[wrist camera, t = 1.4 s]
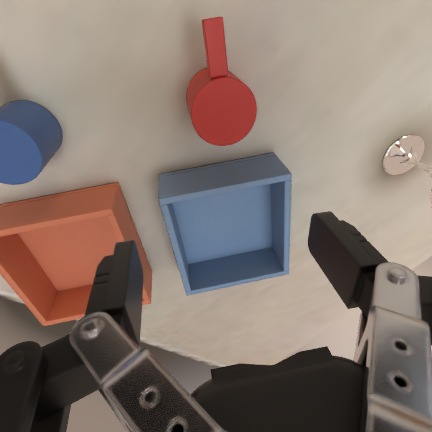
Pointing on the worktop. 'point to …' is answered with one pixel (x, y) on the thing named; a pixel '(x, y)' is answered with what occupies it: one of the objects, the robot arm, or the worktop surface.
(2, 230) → the red bin
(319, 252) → the robot arm
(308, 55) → the worktop surface
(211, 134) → the red scoop
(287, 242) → the blue bin
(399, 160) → the wineglass
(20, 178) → the blue scoop
